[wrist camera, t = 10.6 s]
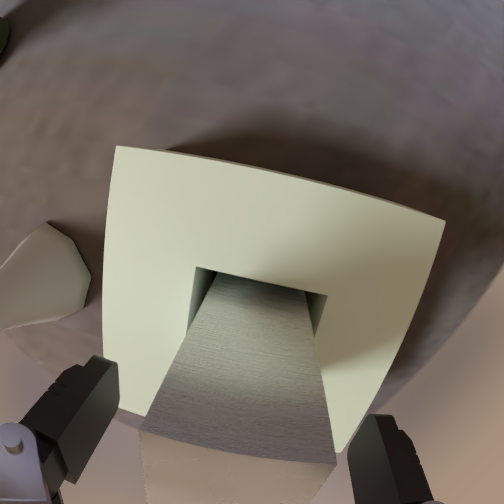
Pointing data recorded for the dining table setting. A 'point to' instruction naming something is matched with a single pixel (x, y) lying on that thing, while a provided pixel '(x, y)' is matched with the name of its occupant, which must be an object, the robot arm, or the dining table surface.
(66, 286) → the flask
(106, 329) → the well block
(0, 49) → the character mug
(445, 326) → the dining table surface
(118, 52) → the dining table surface
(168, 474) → the rectangular block
